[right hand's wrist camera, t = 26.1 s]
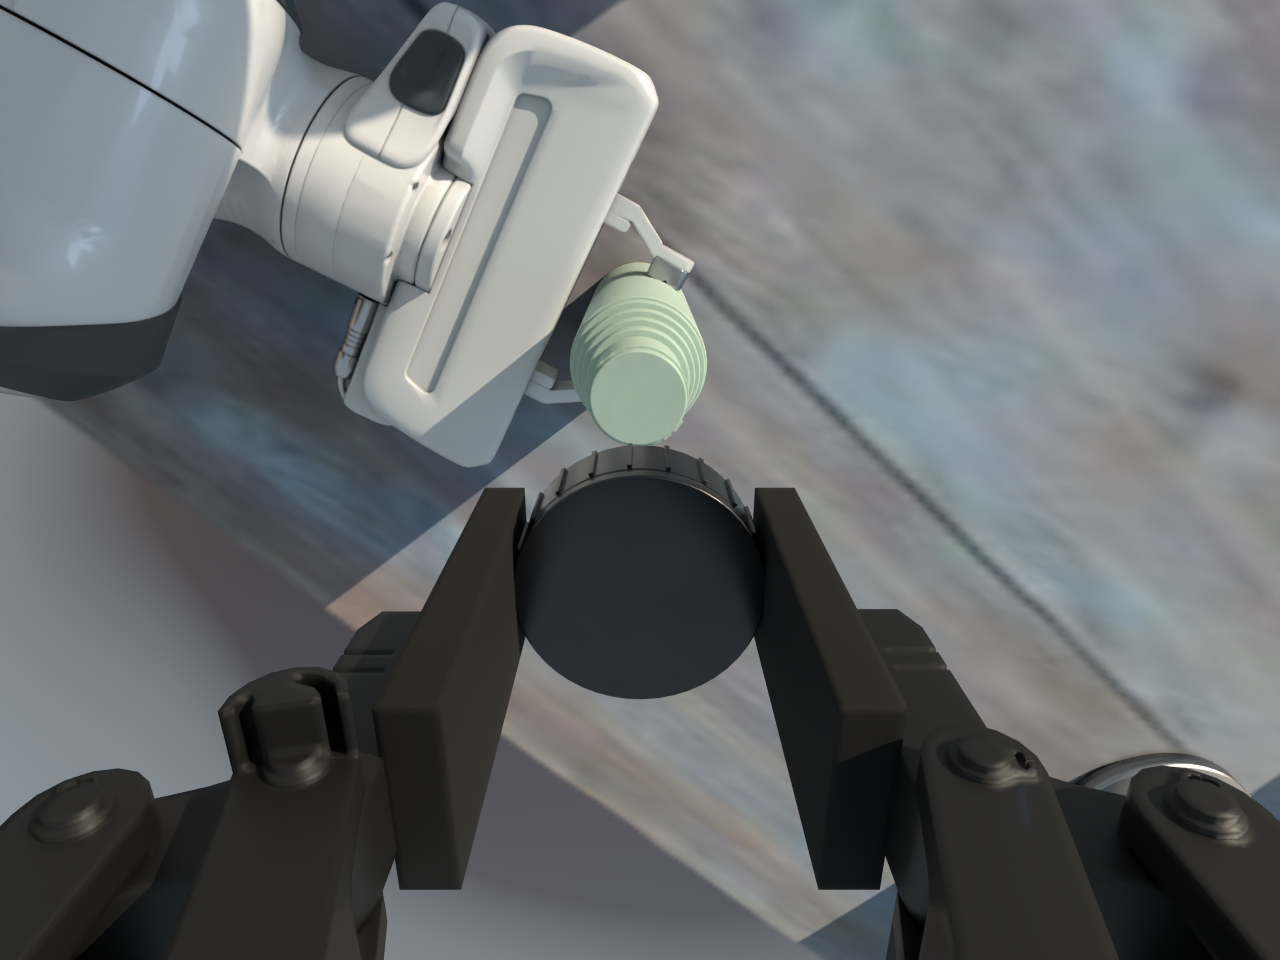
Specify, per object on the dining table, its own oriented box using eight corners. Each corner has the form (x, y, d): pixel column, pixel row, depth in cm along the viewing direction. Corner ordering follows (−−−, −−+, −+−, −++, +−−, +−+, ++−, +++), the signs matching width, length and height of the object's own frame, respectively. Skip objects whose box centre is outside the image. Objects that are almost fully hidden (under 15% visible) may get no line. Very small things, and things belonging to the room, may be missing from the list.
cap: (701, 679, 16) (707, 731, 14) (493, 610, 15) (476, 658, 14) (795, 491, 14) (814, 527, 13) (568, 406, 14) (558, 434, 12)
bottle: (572, 321, 43) (525, 416, 25) (627, 241, 42) (619, 282, 24) (648, 376, 44) (654, 504, 27) (705, 301, 43) (752, 382, 25)
